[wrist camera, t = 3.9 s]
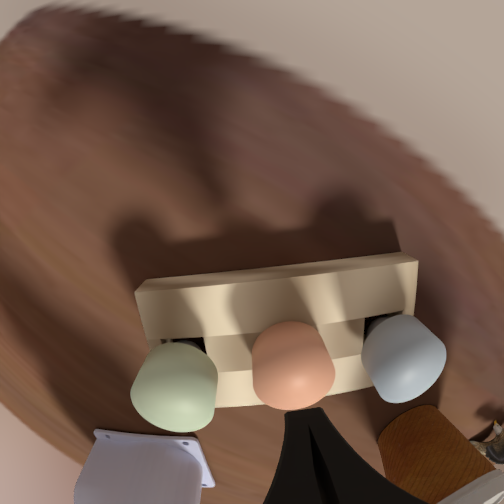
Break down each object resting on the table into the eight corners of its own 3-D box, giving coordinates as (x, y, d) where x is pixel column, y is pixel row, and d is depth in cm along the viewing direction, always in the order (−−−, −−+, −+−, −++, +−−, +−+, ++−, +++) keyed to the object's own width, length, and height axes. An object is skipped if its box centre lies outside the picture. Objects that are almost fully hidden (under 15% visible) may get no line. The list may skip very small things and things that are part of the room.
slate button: (348, 362, 16) (372, 410, 12) (351, 305, 15) (382, 347, 11) (404, 350, 16) (436, 391, 12) (411, 294, 15) (453, 329, 11)
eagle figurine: (524, 396, 20) (481, 440, 19) (543, 436, 15) (500, 484, 14) (493, 413, 25) (450, 450, 24) (509, 449, 21) (467, 488, 19)
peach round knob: (254, 364, 17) (256, 413, 13) (247, 309, 16) (248, 352, 12) (316, 357, 17) (333, 403, 13) (316, 301, 16) (336, 340, 12)
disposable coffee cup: (385, 395, 19) (450, 517, 7) (466, 384, 19) (535, 467, 8) (346, 465, 21) (375, 567, 10) (424, 452, 22) (465, 531, 10)
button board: (175, 388, 18) (169, 407, 16) (146, 279, 16) (134, 292, 14) (391, 362, 18) (402, 378, 16) (401, 251, 16) (418, 260, 14)
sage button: (163, 380, 16) (145, 430, 12) (146, 325, 15) (119, 371, 11) (225, 378, 16) (220, 432, 12) (214, 321, 15) (205, 371, 11)
